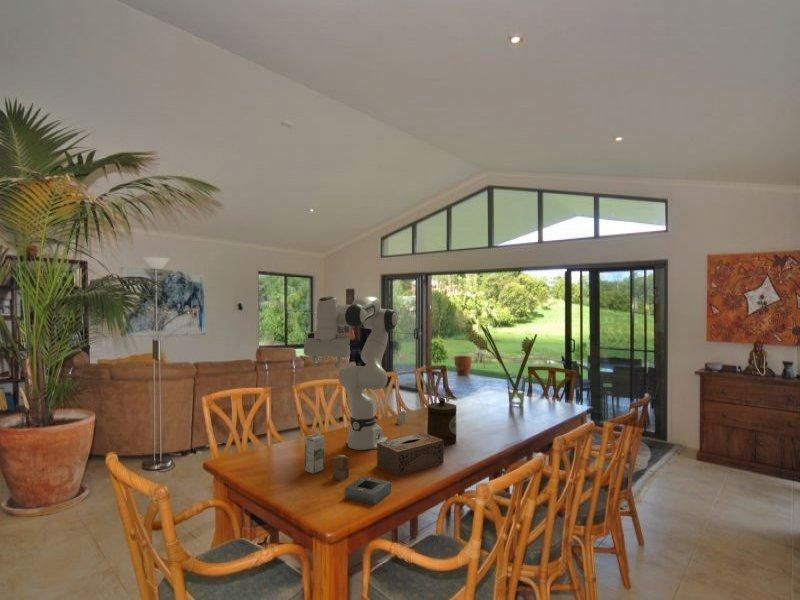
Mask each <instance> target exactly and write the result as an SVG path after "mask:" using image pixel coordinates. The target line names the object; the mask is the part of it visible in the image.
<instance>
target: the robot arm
mask: <svg viewBox="0 0 800 600" xmlns="http://www.w3.org/2000/svg"><path fill="white" fill-rule="evenodd" d="M381 306H382V305H381V301H380V299H379V298H378V297H377V296H374V295H364V296H359V297H357V298H356V299H354V300H353V301H352V303H351V304H340V303H338V300H337V298H336V297H335V296H322V297H321V298H319V299H318V302H317V307H316V320H317V324H316V330H313V331H311V332H307V333H306V334H305V340H304V342H303V355H305V356H307V357H310V356H311V360H312V361H313V366H314V367H316V368H317V367H320V362H319V361H317V357H329V358H330V357H331V358H332V357H333V358H334V357H336V359H337V361H336V362H335V363H334V368H340V363H341V362H342V360H343V358H347V357H349V356H350V355H351V349H350V347H351V345H350V343H351V338H350V336H348V334H338V327H351V328H353V327H354V328H361V329H364V330H367V329H368V330H369V329H370V330H371V331H370V333H369V335H368V336H367V338H366V341H365V343H364V344H363V345H364V346H363V348H362V350H361V352H360V358H361V361H362V362H363V363H364V364H365V365H364V366H363V365H362V366H361V365H346V366H343V367H342V368H341V369H340V370H339V372H338V376H337V377H338V381H339V384H340V385H341V386H342V387H343V388H344V389H345V390H346V393H347V394H348V397H349V400H350V408H351V416H350V419H349V421H350V426H348V427H349V428H348V434H347V435H348V436H347V440H346V442H345V443H346V444H347V447H348V448H350V449H353V450H360V451H362V450H363V451H364V450H365V451H366V450H373V449H375V450H377V443H379V442H384V441H388V440H389V438H388V437H387V436H384V431H383V428H382V427H381V426H380V425H378V424H377V421H376V420H378V419H379V414H378V415H377V414H376V415H375V412H374V411H375V410H374V409H375V408H374V407H375V402H374V400H373V398H372V397H371V396H370V395H368V394H367V393H366V390H373V391H374V390H380V389H384V388H385V387H386V385H387V383H388V379H389V378H388V374H387V372H386V370H385V369H384V367H382V361H383V357H384V354H385V352H386V349H387V345H388V341H389V334H388V333H391V332H392V331H393V330H394V329H395V328H396V326H397V324H398V313H397V312H396V310H394V309H391V308H387V309H386V308H381Z"/></svg>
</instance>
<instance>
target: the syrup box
mask: <svg viewBox="0 0 800 600" xmlns="http://www.w3.org/2000/svg"><path fill="white" fill-rule="evenodd" d="M304 439H305V441H304V442H305V446H304V471H305V472H308V473H310V474H316V473H319V472H322V471H324V470H325V436H324V435H322V434H320V433H313V434H311V435H307V436H305V438H304Z"/></svg>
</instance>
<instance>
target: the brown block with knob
mask: <svg viewBox="0 0 800 600" xmlns="http://www.w3.org/2000/svg"><path fill="white" fill-rule="evenodd" d="M349 459H350V457H349V456H346V455H344V454H337V455H336V456H335V457H333V458H332V480H336V481H340V482H342V481H344V480H346V479H348V478H349V476H350V474H349V473H350V471H349V470H350V467H349V465H350V464H349V463H350V460H349Z"/></svg>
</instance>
